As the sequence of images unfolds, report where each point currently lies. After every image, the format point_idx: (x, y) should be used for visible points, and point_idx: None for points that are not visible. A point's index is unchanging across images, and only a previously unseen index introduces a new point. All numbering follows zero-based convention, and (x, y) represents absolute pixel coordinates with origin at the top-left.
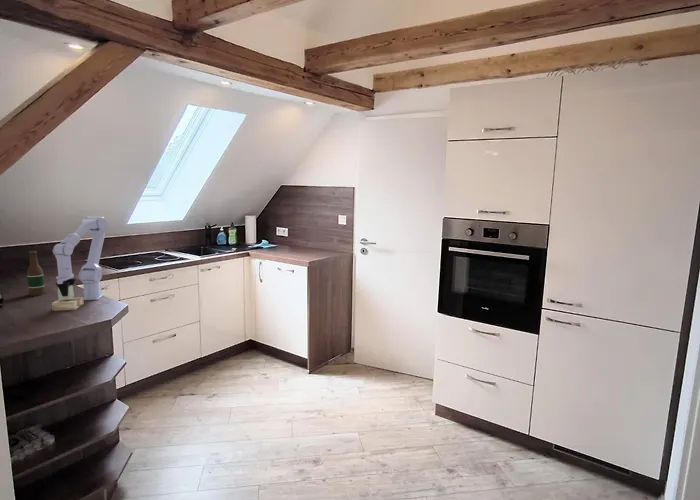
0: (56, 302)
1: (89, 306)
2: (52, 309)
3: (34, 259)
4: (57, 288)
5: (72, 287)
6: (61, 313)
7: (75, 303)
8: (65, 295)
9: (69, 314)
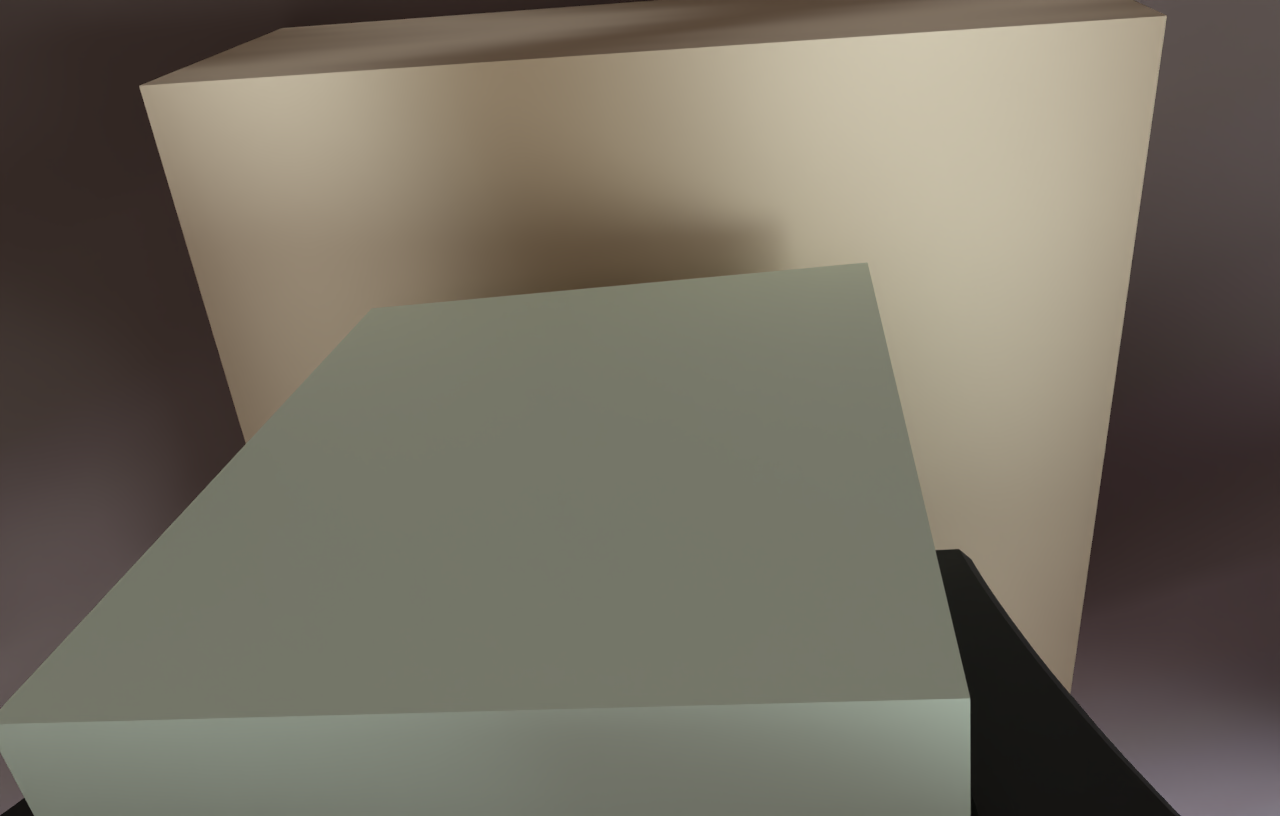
0: (284, 225)
1: None
2: (264, 37)
3: None
4: (9, 719)
5: None
6: (70, 448)
7: None
8: None
9: (48, 649)
